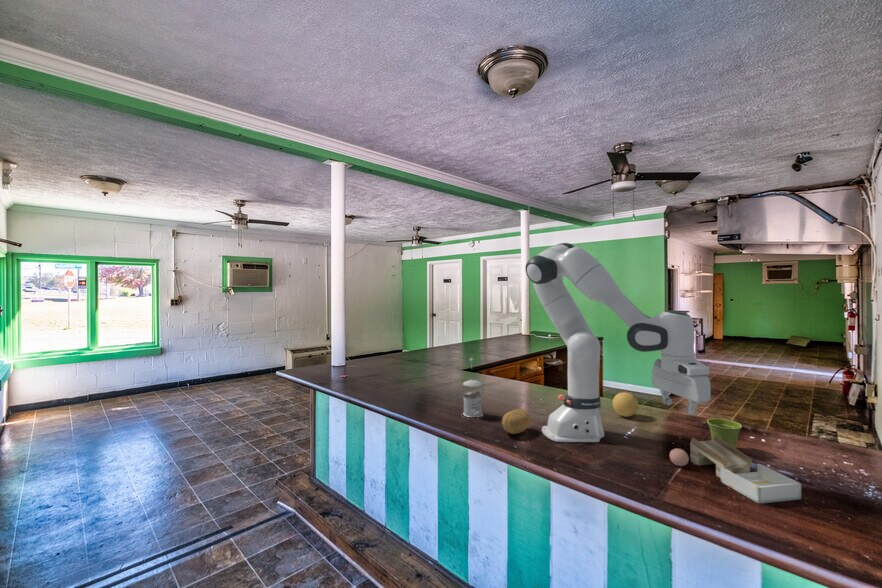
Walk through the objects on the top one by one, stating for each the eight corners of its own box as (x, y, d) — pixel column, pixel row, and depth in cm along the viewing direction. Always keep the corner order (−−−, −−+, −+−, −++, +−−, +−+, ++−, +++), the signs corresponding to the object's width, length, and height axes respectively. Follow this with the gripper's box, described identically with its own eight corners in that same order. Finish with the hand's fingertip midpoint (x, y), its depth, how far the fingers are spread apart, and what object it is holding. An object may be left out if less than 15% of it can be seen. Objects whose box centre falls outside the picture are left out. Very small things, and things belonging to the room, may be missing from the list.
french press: (456, 415, 168) (455, 358, 168) (472, 409, 177) (471, 354, 177) (475, 420, 162) (474, 360, 162) (490, 413, 171) (489, 356, 170)
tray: (758, 503, 96) (758, 487, 96) (720, 481, 107) (720, 467, 107) (801, 499, 98) (801, 483, 98) (759, 477, 109) (759, 463, 109)
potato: (494, 435, 145) (494, 414, 145) (513, 424, 156) (512, 405, 156) (518, 441, 139) (517, 419, 138) (535, 429, 149) (535, 409, 149)
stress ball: (614, 420, 161) (631, 409, 154) (603, 398, 167) (620, 387, 160) (630, 420, 165) (648, 410, 158) (620, 399, 171) (636, 388, 164)
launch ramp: (724, 480, 108) (724, 454, 108) (690, 460, 120) (689, 437, 120) (752, 477, 109) (752, 451, 109) (716, 458, 121) (715, 435, 121)
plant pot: (749, 454, 124) (749, 427, 124) (722, 455, 123) (721, 428, 123) (726, 442, 133) (726, 417, 133) (700, 444, 133) (700, 419, 133)
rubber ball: (677, 469, 115) (677, 453, 115) (665, 462, 120) (665, 446, 120) (692, 468, 115) (692, 451, 115) (680, 461, 120) (680, 445, 120)
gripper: (645, 358, 127) (646, 400, 127) (694, 371, 107) (695, 420, 107) (663, 357, 128) (664, 399, 128) (714, 370, 108) (715, 419, 108)
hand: (678, 409), depth 117 cm, fingers open, 8 cm apart
